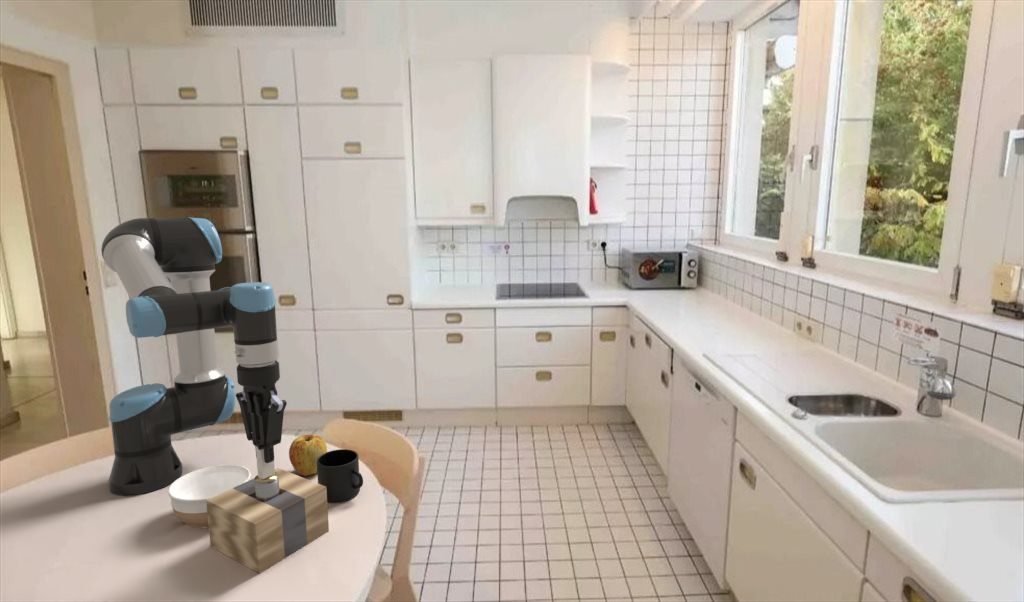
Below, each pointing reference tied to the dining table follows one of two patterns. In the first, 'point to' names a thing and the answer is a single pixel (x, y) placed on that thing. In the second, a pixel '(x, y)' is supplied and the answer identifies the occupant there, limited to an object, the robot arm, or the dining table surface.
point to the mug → (339, 474)
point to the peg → (267, 487)
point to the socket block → (267, 521)
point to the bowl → (203, 491)
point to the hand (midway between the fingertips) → (266, 475)
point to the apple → (306, 453)
